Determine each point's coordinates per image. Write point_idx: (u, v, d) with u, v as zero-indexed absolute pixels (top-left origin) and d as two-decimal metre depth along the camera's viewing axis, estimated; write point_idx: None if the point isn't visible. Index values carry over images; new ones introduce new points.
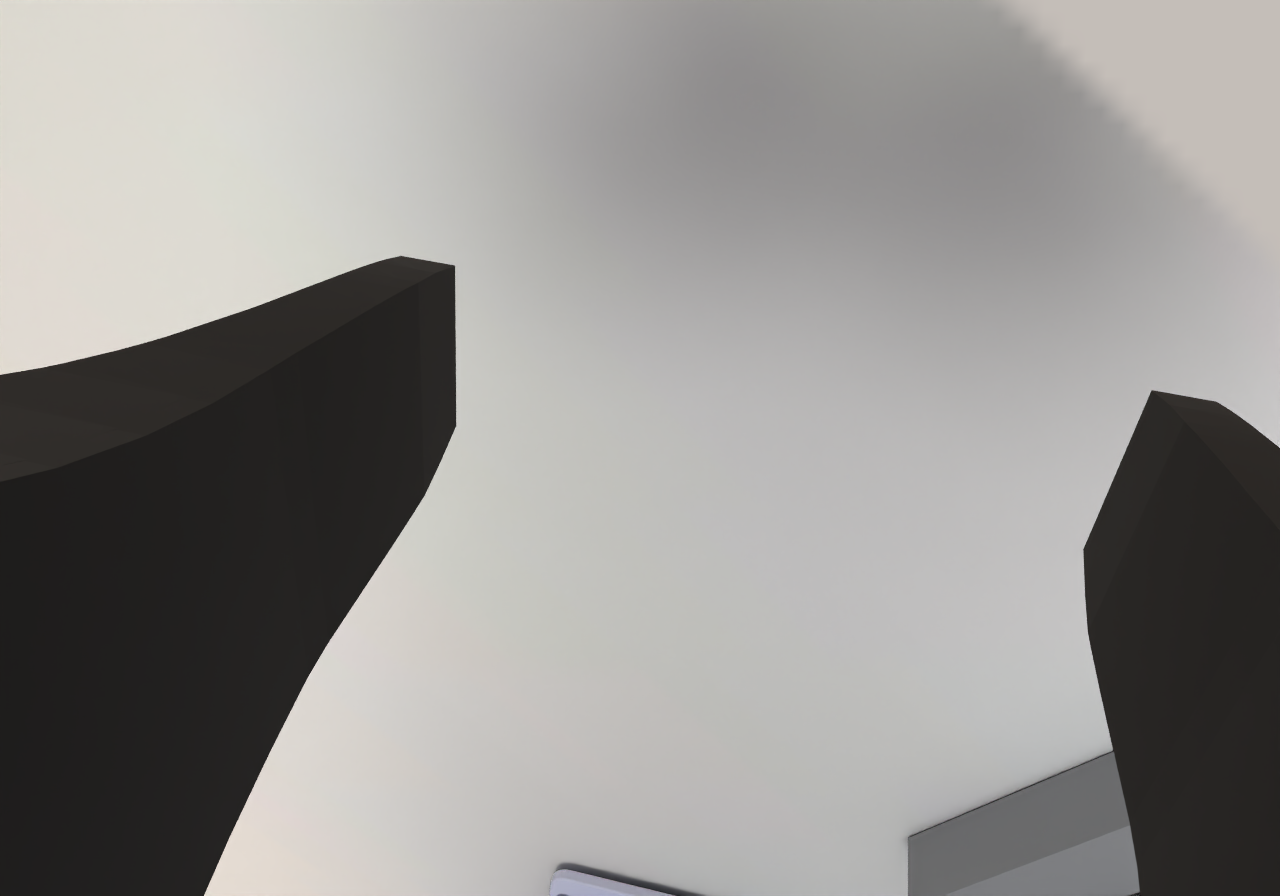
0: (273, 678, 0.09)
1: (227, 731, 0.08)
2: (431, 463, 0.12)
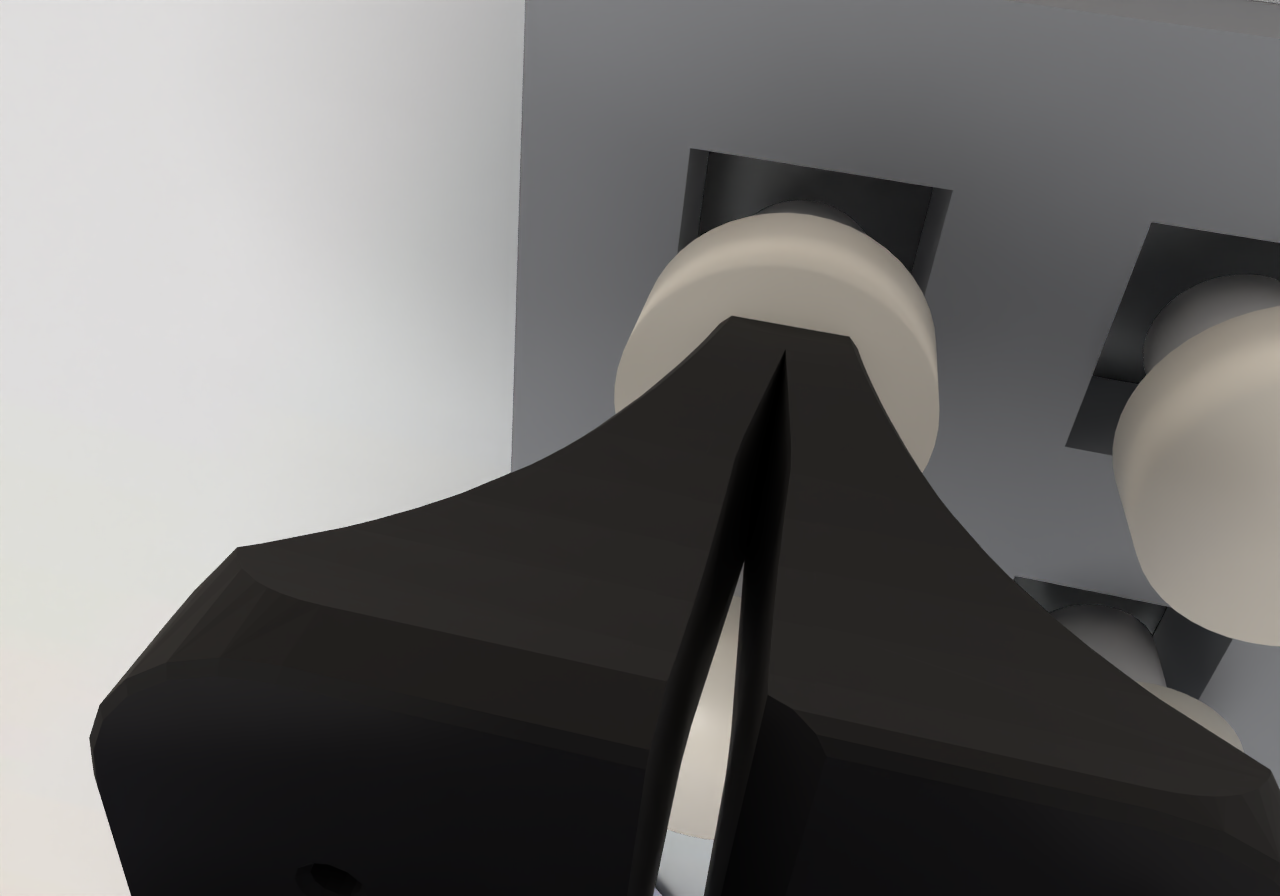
0: (677, 772, 0.09)
1: (662, 835, 0.08)
2: None
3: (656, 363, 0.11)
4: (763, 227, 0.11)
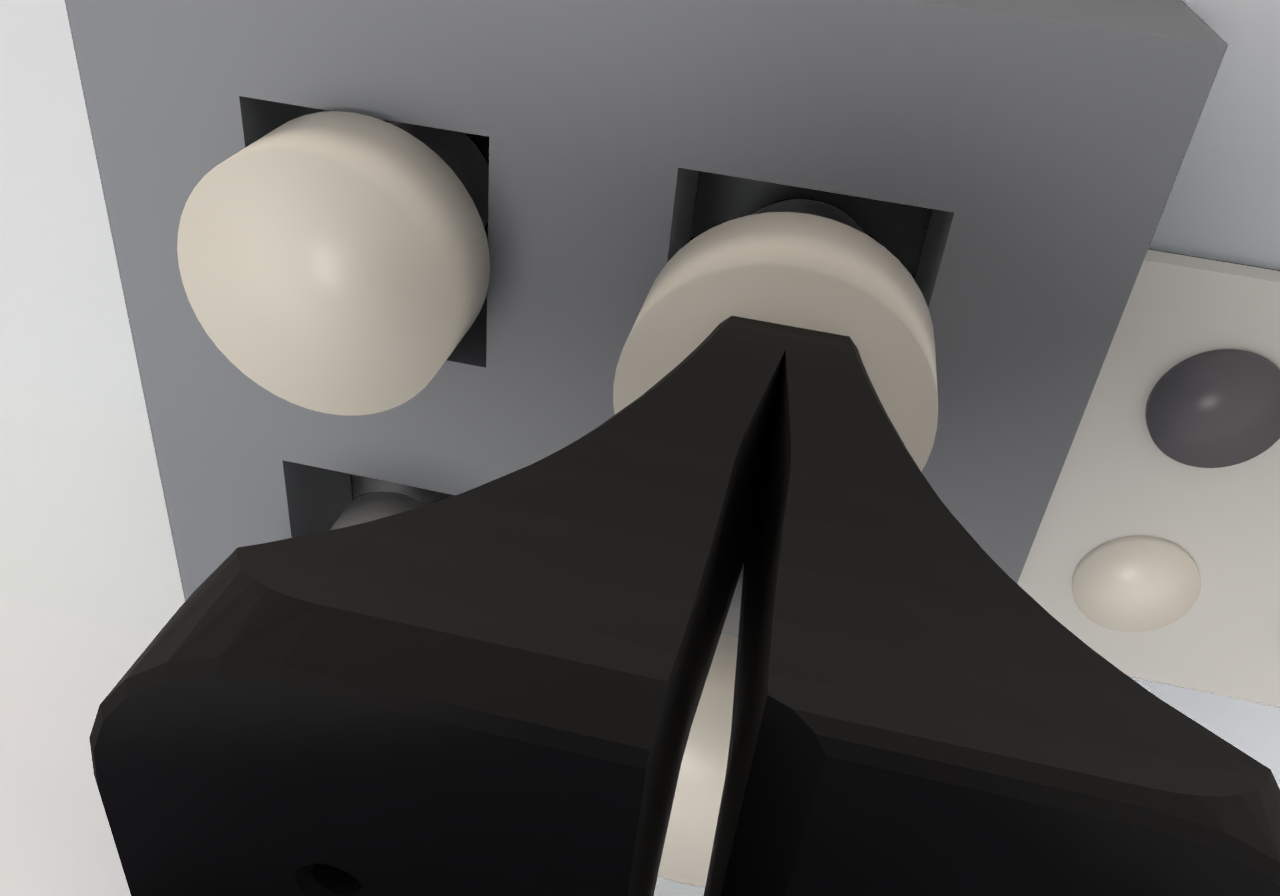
0: (677, 771, 0.09)
1: (662, 835, 0.08)
2: None
3: (207, 244, 0.12)
4: (304, 122, 0.13)
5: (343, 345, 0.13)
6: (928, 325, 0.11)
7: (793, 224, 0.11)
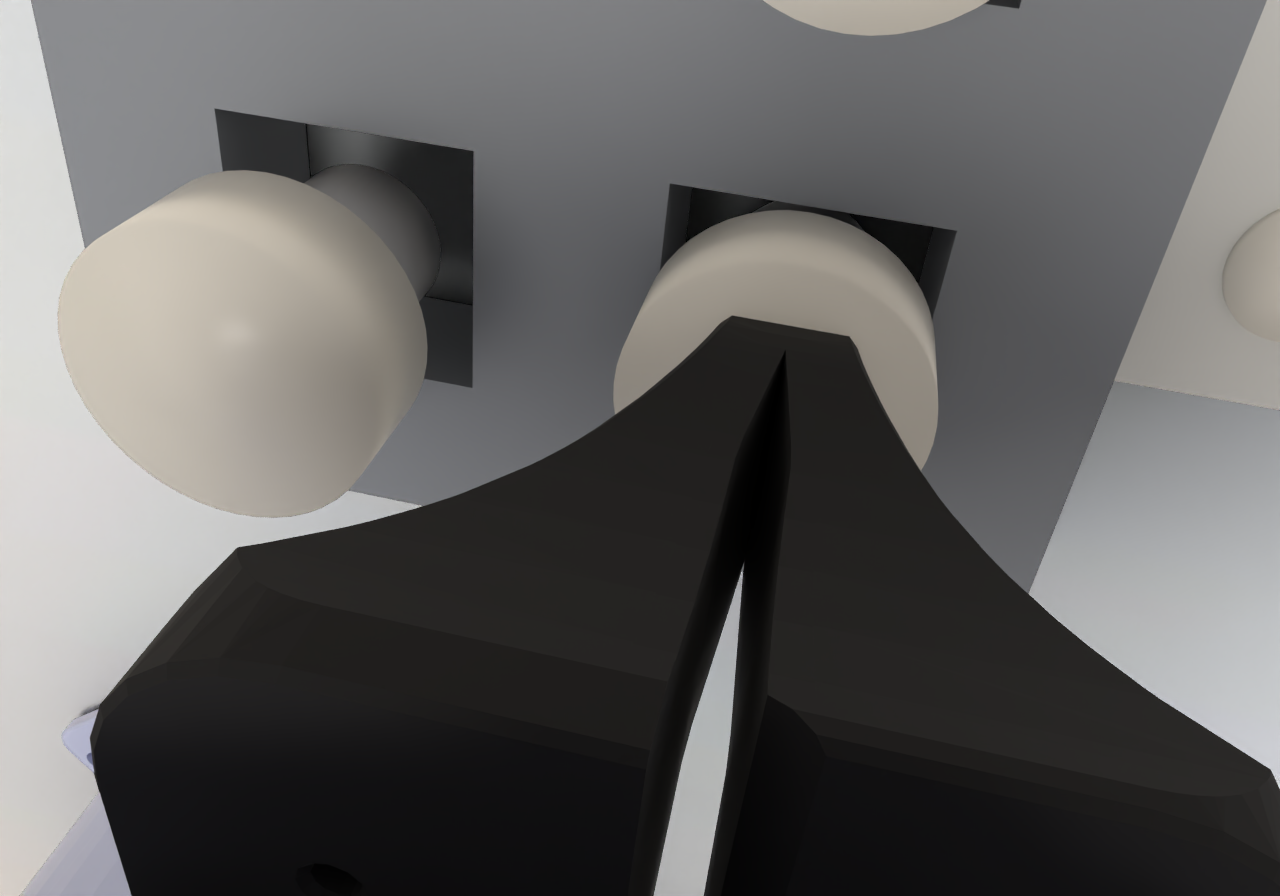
0: (677, 771, 0.09)
1: (662, 835, 0.08)
2: None
3: None
4: None
5: None
6: None
7: None
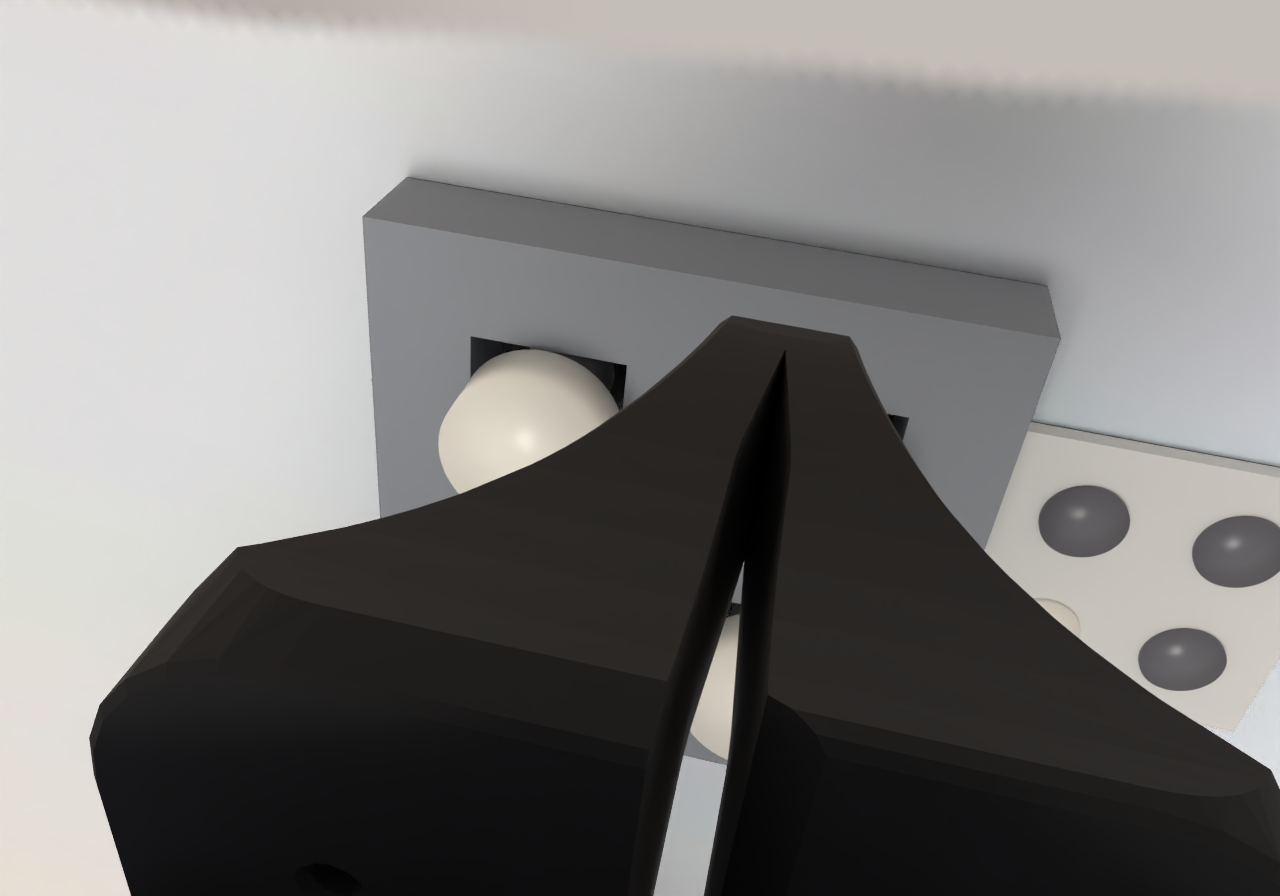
0: (677, 771, 0.09)
1: (662, 835, 0.08)
2: None
3: (458, 433, 0.21)
4: (517, 359, 0.21)
5: None
6: None
7: None
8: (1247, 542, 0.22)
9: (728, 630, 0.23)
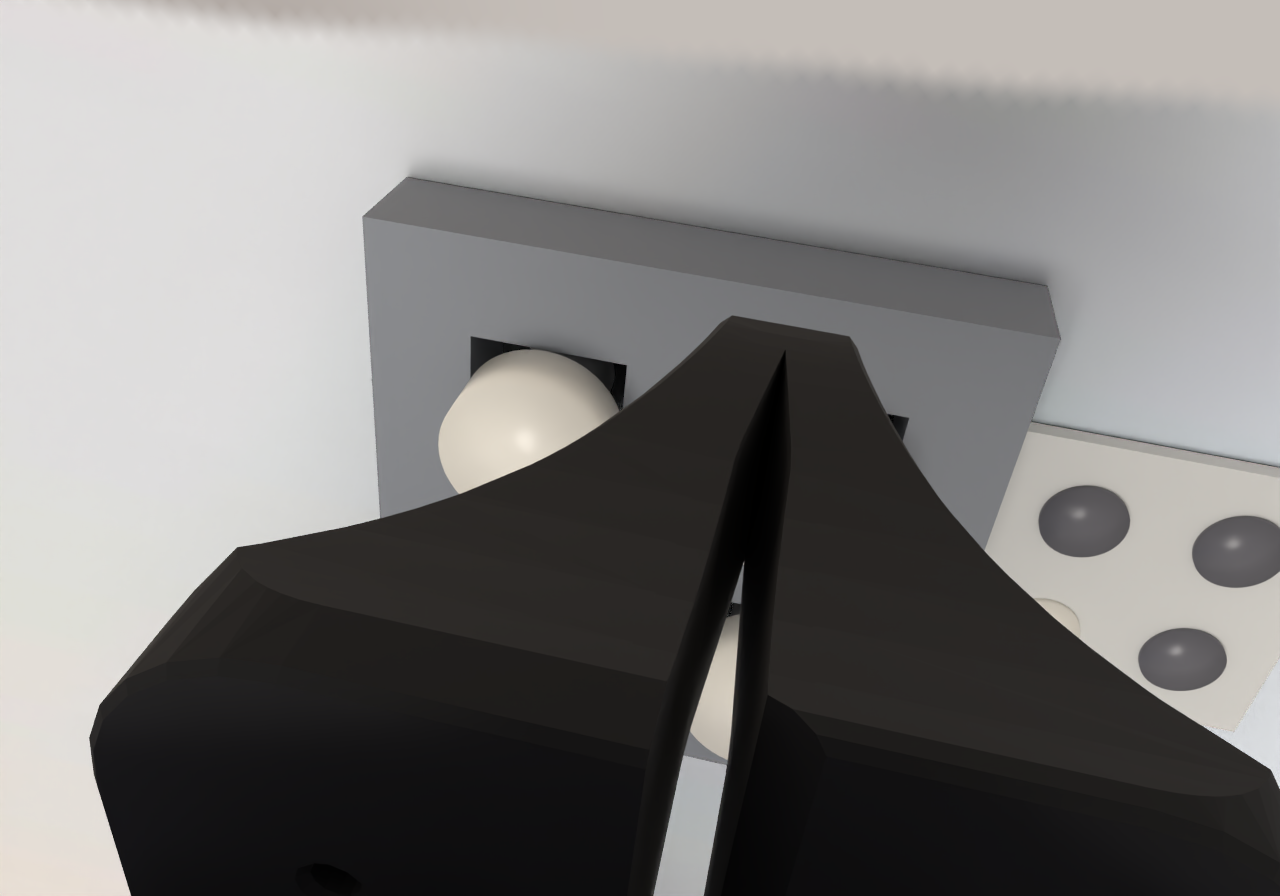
0: (677, 771, 0.09)
1: (662, 835, 0.08)
2: None
3: (458, 433, 0.21)
4: (517, 359, 0.21)
5: None
6: None
7: None
8: (1247, 542, 0.22)
9: (728, 630, 0.23)
